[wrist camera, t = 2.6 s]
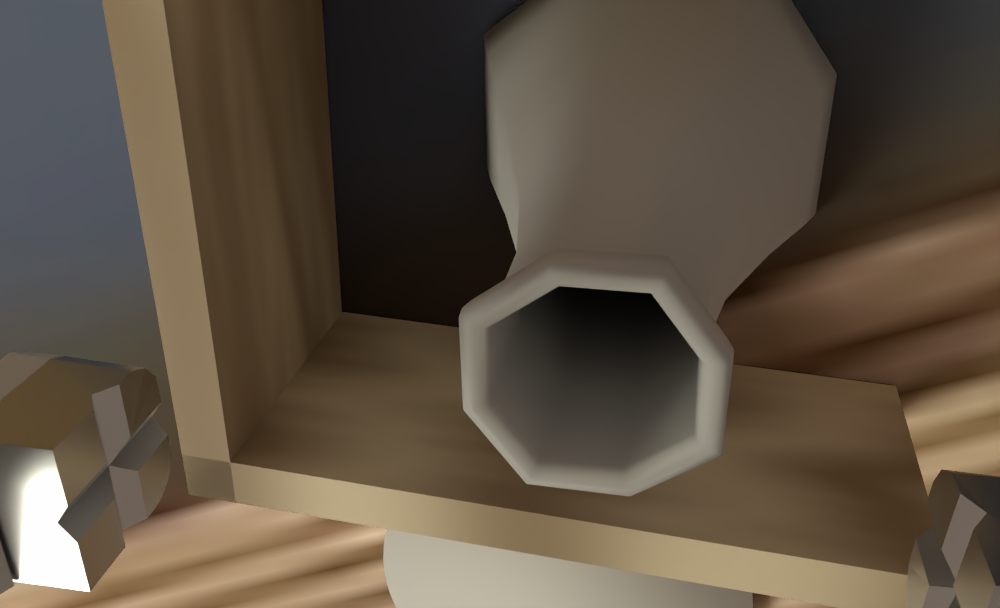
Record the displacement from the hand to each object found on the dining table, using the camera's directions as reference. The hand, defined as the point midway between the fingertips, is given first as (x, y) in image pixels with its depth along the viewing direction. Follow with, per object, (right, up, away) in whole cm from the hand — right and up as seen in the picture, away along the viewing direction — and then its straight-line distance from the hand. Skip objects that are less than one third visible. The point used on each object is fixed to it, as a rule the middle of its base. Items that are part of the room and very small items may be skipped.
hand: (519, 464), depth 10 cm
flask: (+3, +6, +9) cm, 11 cm away
